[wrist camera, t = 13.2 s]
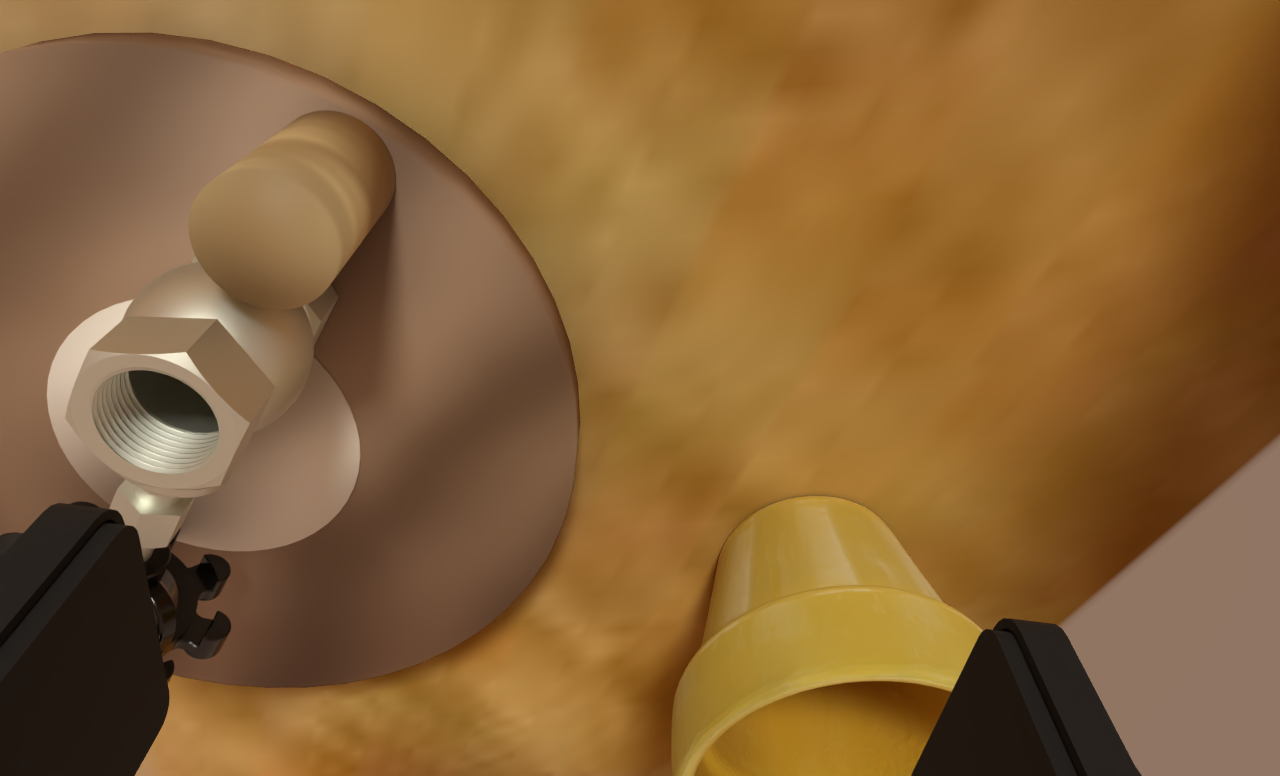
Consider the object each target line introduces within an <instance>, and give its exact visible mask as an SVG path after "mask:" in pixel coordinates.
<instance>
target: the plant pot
mask: <svg viewBox="0 0 1280 776" xmlns="http://www.w3.org/2000/svg"><path fill="white" fill-rule="evenodd" d="M982 631H983V630H982V629H981V628H980V627H979V626H977V625H976V624H975V623H974V622H973V621H972V620H970V619H969V618H968V617H966V616H965V615H963V614H962V613H961V612H959V611H957V610H956V609H954V608H952V607H950V606H948V605H947V604H945V603H943V601H942V600H941V598H940V597H939V596H938V594H937V593H936V592H935V590H934V589H933V588H932V586H931V585H930V584H929V582H928V581H927V580H926V578H925V577H924V576H923V574H922V573H921V571H920V570H919V569H918V567H917V566H916V565H915V563H914V562H913V561H912V559H911V558H910V556H909V555H908V554H907V552H906V551H905V549H904V548H903V547H902V545H901V544H900V542H899V541H898V540H897V538H896V537H895V535H894V534H893V532H892V531H891V530H890V529H889V527H888V526H887V525H886V524H885V523H884V522H883V521H882V520H881V519H880V518H879V517H878V516H877V515H875V514H874V513H873V512H872V511H870V510H868V509H867V508H865V507H864V506H862V505H859V504H857V503H854V502H851V501H848V500H845V499H841V498H836V497H829V496H804V497H796V498H791V499H786V500H782V501H779V502H776V503H773V504H771V505H768V506H766V507H764V508H762V509H760V510H759V511H757V512H755V513H754V514H752V515H751V516H749V517H748V518H747V519H745V520H744V521H743V522H742V523H741V524H740V525H739V526H738V527H737V528H736V529H735V530H734V531H733V532H732V533H731V535H730V536H729V537H728V539H727V540H726V542H725V544H724V546H723V548H722V550H721V553H720V555H719V560H718V564H717V570H716V576H715V581H714V587H713V592H712V597H711V602H710V607H709V612H708V616H707V621H706V626H705V631H704V635H703V640H702V645H701V648H700V649H699V650H698V651H697V653H696V654H695V655H694V657H693V658H692V659H691V661H690V662H689V664H688V666H687V667H686V669H685V671H684V673H683V675H682V677H681V679H680V682H679V684H678V687H677V690H676V694H675V697H674V704H673V712H672V730H671V775H672V776H911V774H912V772H913V770H914V768H915V766H916V764H917V762H918V760H919V758H920V756H921V754H922V752H923V749H924V747H925V745H926V743H927V741H928V739H929V737H930V735H931V733H932V731H933V729H934V727H935V725H936V723H937V721H938V719H939V717H940V715H941V713H942V711H943V709H944V706H945V704H946V702H947V700H948V698H949V696H950V694H951V692H952V690H953V688H954V686H955V684H956V682H957V680H958V678H959V676H960V674H961V672H962V670H963V668H964V666H965V663H966V661H967V659H968V657H969V655H970V653H971V651H972V649H973V647H974V645H975V643H976V641H977V639H978V637H979V635H980V634H981V632H982Z"/></svg>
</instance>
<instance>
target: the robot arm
mask: <svg viewBox="0 0 1280 776" xmlns="http://www.w3.org/2000/svg"><path fill="white" fill-rule="evenodd" d="M168 706H169V689H168V684H167V679H166V673H165V668H164V663H163V658H162V653H161V647H160V642H159V637H158V632H157V627H156V621H155V616H154V611H153V606H152V601H151V595H150V590H149V585H148V580H147V575H146V569H145V564H144V559H143V554H142V549H141V543H140V538H139V534H138V531H137V529H136V528H135V527H134V526H129V525H125V523H124V520H123V517H122V515H121V514H120V513H119V512H118V511H117V510H113V509H106V508H98V507H89V506H81V505H73V504H65V503H57V504H54V505H51V506H50V507H48V508H47V509H46V510H45V511H44V512H42V514H41V515H40V516H39V517H38V518H37V519H36V520H35V521H34V522H33V523H32V524H31V525H30V526H29V528H28V529H27V530H26V531H25V532H24V533H23V534H22V535H21V536H20V537H19V538H18V539H17V540H16V541H15V543H14V544H13V545H12V546H11V547H10V548H9V549H8V550H7V551H6V552H5V553H4V554H3V555H2V556H1V558H0V776H135V774H136V772H137V770H138V768H139V767H140V765H141V763H142V761H143V760H144V758H145V756H146V754H147V753H148V751H149V749H150V747H151V746H152V744H153V742H154V740H155V738H156V737H157V735H158V733H159V731H160V729H161V727H162V725H163V723H164V720H165V718H166V715H167V711H168ZM911 776H1141V774H1140V773H1139V771H1138V770H1137V768H1136V767H1135V765H1134V764H1133V762H1132V760H1131V758H1130V756H1129V754H1128V752H1127V750H1126V748H1125V746H1124V744H1123V742H1122V740H1121V739H1120V737H1119V735H1118V733H1117V731H1116V729H1115V727H1114V725H1113V723H1112V721H1111V719H1110V718H1109V716H1108V714H1107V712H1106V710H1105V708H1104V706H1103V704H1102V702H1101V700H1100V699H1099V696H1098V695H1097V693H1096V691H1095V689H1094V687H1093V685H1092V683H1091V681H1090V679H1089V677H1088V675H1087V673H1086V671H1085V669H1084V668H1083V666H1082V664H1081V662H1080V660H1079V658H1078V656H1077V654H1076V652H1075V650H1074V648H1073V647H1072V645H1071V643H1070V641H1069V639H1068V637H1067V636H1066V634H1065V633H1064V631H1063V630H1062V628H1060V627H1059V626H1057V625H1056V624H1049V623H1041V622H1032V621H1024V620H1016V619H1005V618H1004V619H1002V620H1000V621H999V622H998V623H997V624H996V626H995V627H994V629H993V630H988V629H986V630H984V631H982V632H981V634H980V635H979V637H978V639H977V641H976V643H975V645H974V647H973V649H972V651H971V653H970V655H969V657H968V659H967V661H966V663H965V666H964V668H963V670H962V672H961V674H960V676H959V678H958V680H957V682H956V684H955V686H954V688H953V690H952V692H951V694H950V696H949V698H948V700H947V702H946V704H945V706H944V709H943V711H942V713H941V715H940V717H939V719H938V721H937V723H936V725H935V727H934V729H933V731H932V733H931V735H930V737H929V739H928V741H927V743H926V745H925V747H924V749H923V752H922V754H921V756H920V758H919V760H918V762H917V764H916V766H915V768H914V770H913V772H912V774H911Z"/></svg>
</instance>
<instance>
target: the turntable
mask: <svg viewBox="0 0 1280 776" xmlns="http://www.w3.org/2000/svg"><path fill="white" fill-rule="evenodd" d="M195 256H196V258H197V260H198V261H199V263H200V265H201V267H202V268H203V269H204V271H205V272H206V273H207V275H208V276H209V277H210V278H211V279H212V280H213V281H214V282H215V283H216V284H217V285H218V286H219V287H220V288H222V289H223V290H224V291H226V292H227V293H228V294H230V295H232V296H233V297H235V298H237V299H239V300H241V301H243V302H245V303H248V304H250V305H253V306H256V307H261V308H265V309H274V310H285V309H293V308H297V307H301V306H303V305H306V304H308V303H310V302H312V301H314V300H315V299H317V298H318V297H319V296H320V295H322V294H323V293H324V292H325V291H326V289H327V288H328V287H329V286H330V284H331V285H332V287H333V289H334V290H335V292H336V294H337V295H338V299H337V301H336V303H335V305H334V307H333V309H332V311H331V313H330V315H329V318H328V320H327V322H326V324H325V326H324V328H323V330H322V332H321V334H320V336H319V338H318V339H317V341H316V343H315V345H314V356H313V363H312V368H311V372H310V375H309V378H308V380H307V382H306V384H305V386H304V388H303V390H302V392H301V393H300V395H299V397H298V398H297V400H296V401H295V402H294V403H293V404H292V406H291V407H290V408H289V409H288V410H287V411H286V412H285V413H284V414H283V415H282V416H280V417H279V418H278V419H276V420H275V421H273V422H272V423H270V424H269V425H267V426H266V427H264V428H262V429H260V430H257V431H255V432H253V434H252V437H251V439H250V441H249V443H248V445H247V447H246V448H245V450H244V452H243V454H242V456H241V459H240V461H239V463H238V465H237V467H236V469H235V471H234V473H233V475H232V477H231V479H230V480H229V481H228V482H227V484H226V485H225V486H223V487H222V488H220V489H219V490H218V491H215V492H213V493H211V494H208V495H204V496H200V497H195V498H194V500H193V502H192V505H191V507H190V509H189V511H188V513H187V515H186V518H185V520H184V522H183V524H182V526H181V530H180V533H179V535H178V537H177V539H176V541H175V543H174V546H173V548H172V550H171V553H173V554H174V555H175V556H176V557H178V558H179V559H180V560H181V561H182V562H183V563H184V564H185V566H186V567H193V566H195V565H197V564H200V562H201V560H202V558H203V556H204V554H215V555H218V556H221V557H223V558H224V559H225V560H226V561H227V562H228V563H229V565H230V567H231V573H230V576H229V578H228V580H227V582H226V584H225V585H224V587H223V589H222V591H221V593H220V595H219V596H218V597H216V598H215V599H213V600H210V601H199V600H198V605H197V610H196V612H197V614H198V615H199V616H201V617H203V618H208V619H212V620H213V618H214V616H215V614H216V612H217V611H220V612H222V613H224V614H225V615H226V616H227V617H228V618H229V620H230V622H231V631H230V633H229V635H228V637H227V639H226V641H225V642H224V644H223V646H222V648H221V650H220V651H219V653H218V654H217V655H215V656H214V657H212V658H209V659H195V658H193V657H190V656H189V655H188V654H186V653H185V651H184V650H183V649H174V650H171V651H170V652H169V653H167V654H166V655H164V656H163V657H162V658H163V662H166V661H168V660H173V661H174V666H175V668H174V672H173V675H177V676H181V677H185V678H191V679H197V680H203V681H209V682H215V683H221V684H228V685H241V686H253V687H265V688H277V687H314V686H324V685H334V684H343V683H349V682H354V681H359V680H364V679H369V678H374V677H378V676H383V675H386V674H389V673H392V672H395V671H398V670H402V669H405V668H408V667H411V666H414V665H417V664H419V663H421V662H424V661H426V660H428V659H430V658H433V657H435V656H437V655H439V654H442V653H444V652H446V651H448V650H450V649H452V648H453V647H455V646H457V645H458V644H460V643H462V642H463V641H465V640H466V639H468V638H470V637H471V636H473V635H475V634H476V633H478V632H479V631H481V630H482V629H483V628H484V627H486V626H487V625H488V624H489V623H491V622H492V621H493V620H494V619H495V618H497V617H498V616H499V615H500V614H502V613H503V612H504V611H505V610H506V609H507V608H508V607H509V606H510V605H511V604H512V603H513V602H514V601H515V600H516V598H517V597H518V596H519V595H520V594H521V593H522V592H523V591H524V590H525V589H526V588H527V587H528V585H529V584H530V583H531V581H532V580H533V578H534V577H535V575H536V574H537V572H538V571H539V569H540V568H541V566H542V565H543V563H544V562H545V560H546V559H547V557H548V556H549V554H550V552H551V549H552V547H553V545H554V543H555V541H556V538H557V536H558V534H559V532H560V530H561V528H562V525H563V523H564V519H565V516H566V512H567V508H568V505H569V501H570V497H571V494H572V490H573V483H574V473H575V464H576V455H577V445H578V435H579V426H580V414H579V394H578V381H577V376H576V371H575V366H574V361H573V356H572V351H571V346H570V342H569V339H568V336H567V333H566V330H565V328H564V325H563V322H562V319H561V316H560V314H559V311H558V308H557V305H556V302H555V300H554V298H553V296H552V294H551V292H550V290H549V288H548V286H547V284H546V282H545V280H544V279H543V277H542V275H541V273H540V271H539V269H538V267H537V265H536V263H535V261H534V259H533V257H532V256H531V255H530V253H529V252H528V250H527V249H526V247H525V246H524V244H523V243H522V242H521V240H520V239H519V237H518V236H517V234H516V233H515V231H514V230H513V229H512V227H511V226H510V224H509V223H508V221H507V220H506V219H505V217H504V216H503V215H502V213H501V212H500V211H499V210H498V209H497V208H496V207H495V206H494V205H493V203H492V202H491V201H490V200H489V199H488V198H487V197H486V196H485V194H484V193H483V192H482V191H481V190H480V189H479V188H478V187H477V186H476V184H475V183H474V182H473V181H472V180H471V179H470V178H469V177H468V176H467V175H466V174H465V173H464V172H463V171H462V170H461V169H459V168H458V167H457V166H456V165H455V164H454V163H453V162H452V161H450V160H449V159H448V158H447V157H446V156H445V155H444V154H442V153H441V152H440V151H439V150H438V149H437V148H436V147H434V146H433V145H432V144H431V143H430V142H429V141H428V140H427V139H425V138H424V137H422V136H421V135H420V134H418V133H417V132H415V131H414V130H412V129H411V128H409V127H408V126H407V125H405V124H404V123H402V122H401V121H399V120H398V119H396V118H395V117H394V116H392V115H391V114H389V113H388V112H386V111H385V110H383V109H382V108H381V107H379V106H378V105H376V104H374V103H372V102H370V101H368V100H366V99H365V98H363V97H361V96H359V95H357V94H355V93H353V92H351V91H350V90H348V89H346V88H344V87H342V86H340V85H338V84H336V83H335V82H333V81H331V80H329V79H327V78H325V77H323V76H320V75H318V74H315V73H313V72H310V71H308V70H305V69H302V68H300V67H297V66H295V65H292V64H290V63H287V62H284V61H282V60H279V59H277V58H274V57H272V56H269V55H266V54H262V53H258V52H254V51H250V50H246V49H242V48H238V47H235V46H231V45H227V44H223V43H219V42H215V41H211V40H205V39H197V38H189V37H181V36H173V35H165V34H157V33H93V34H87V35H80V36H74V37H68V38H61V39H55V40H48V41H42V42H38V43H34V44H31V45H28V46H24V47H21V48H17V49H14V50H10V51H7V52H4V53H0V535H2V534H5V533H11V532H18V533H24V532H25V531H26V530H27V529H28V528H29V526H30V525H31V524H32V523H33V522H34V521H35V520H36V519H37V518H38V517H39V516H40V515H41V514H42V512H44V511H45V510H46V509H47V508H48V507H50V506H51V505H54V504H57V503H65V504H70V503H73V502H78V501H85V502H90V503H93V504H95V505H97V506H98V507H100V508H106V509H109V508H110V505H111V503H112V500H113V498H114V495H115V493H116V491H117V489H118V487H119V486H120V485H121V484H122V483H123V481H124V480H125V479H124V478H123V477H121V476H120V475H118V474H117V473H116V472H114V471H113V470H112V469H111V468H109V467H108V466H107V465H106V464H105V463H103V462H102V461H101V460H100V459H99V458H98V457H97V456H96V455H95V454H94V453H93V452H92V451H91V450H90V449H89V448H88V447H87V446H86V445H85V443H84V442H83V441H82V440H81V439H80V438H79V436H78V435H77V434H76V433H75V431H74V430H73V429H72V427H71V426H70V424H69V423H68V422H67V420H66V419H65V416H66V411H67V406H68V402H69V399H70V396H71V393H72V389H73V387H74V384H75V381H76V379H77V376H78V374H79V371H80V369H81V366H82V364H83V362H84V359H85V357H86V355H87V353H88V351H89V349H90V348H91V347H92V346H93V345H95V344H96V343H97V342H98V341H99V340H100V339H101V338H103V337H104V336H105V335H106V334H107V333H108V332H109V331H111V330H112V329H113V328H114V327H115V326H116V325H117V324H119V323H120V322H121V321H122V319H123V317H124V315H125V312H126V310H127V308H128V307H129V305H130V304H131V302H132V301H133V300H134V299H135V297H136V296H137V295H138V294H139V292H140V291H141V290H142V289H143V288H144V287H145V286H147V285H148V284H149V283H150V282H152V281H153V280H154V279H156V278H157V277H158V276H160V275H162V274H164V273H166V272H168V271H170V270H172V269H174V268H176V267H178V266H181V265H185V264H188V263H192V261H193V258H194V257H195ZM160 583H161V584H162V585H163V586H164V588H165V589H166V590H167V588H166V586H165V585H164V584H163V582H162V581H161V582H160ZM167 592H168V593H169V591H168V590H167ZM169 595H170V593H169Z"/></svg>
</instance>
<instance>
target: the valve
mask: <svg viewBox="0 0 1280 776" xmlns="http://www.w3.org/2000/svg"><path fill="white" fill-rule="evenodd" d="M337 299H338V295H337V294H336V292H335V290H334V289H333V287H332V285H331V284H330V286H329V287H328V288H327V289H326V291H325V292H324V293H323V294H322V295H320V296H319V297H318V298H317V299H315V300H314V301H312V302H310V303H308V304H306V305H303V306H301V307H297V308H293V309H285V310H274V309H265V308H261V307H256V306H253V305H250V304H248V303H245V302H243V301H241V300H239V299H237V298H235V297H233V296H232V295H230V294H228V293H227V292H226V291H224V290H223V289H222V288H220V287H219V286H218V285H217V284H216V283H215V282H214V281H213V280H212V279H211V278H210V277H209V276H208V275H207V273H206V272H205V271H204V269H203V268H202V267H201V265H200V263H199V261H198V260H197V258H196V256H195V257H194V258H193V261H192V263H188V264H185V265H181V266H178V267H176V268H174V269H172V270H170V271H168V272H166V273H164V274H162V275H160V276H158V277H157V278H156V279H154V280H153V281H152V282H150V283H149V284H148V285H147V286H145V287H144V288H143V289H142V290H141V291H140V292H139V294H138V295H137V296H136V297H135V299H134V300H133V301H132V302H131V304H130V305H129V307H128V308H127V310H126V312H125V315H124V317H123V319H122V321H121V322H120V323H119V324H117V325H116V326H115V327H114V328H113V329H112V330H111V331H109V332H108V333H107V334H106V335H105V336H104V337H103V338H101V339H100V340H99V341H98V342H97V343H96V344H95V345H93V346H92V347H91V348H90V349H89V351H88V353H87V355H86V357H85V359H84V362H83V364H82V366H81V369H80V371H79V374H78V376H77V379H76V381H75V384H74V387H73V389H72V393H71V396H70V399H69V402H68V406H67V411H66V416H65V419H66V420H67V422H68V423H69V424H70V426H71V427H72V429H73V430H74V431H75V433H76V434H77V435H78V436H79V438H80V439H81V440H82V441H83V442H84V443H85V445H86V446H87V447H88V448H89V449H90V450H91V451H92V452H93V453H94V454H95V455H96V456H97V457H98V458H99V459H100V460H101V461H102V462H103V463H105V464H106V465H107V466H108V467H109V468H111V469H112V470H113V471H114V472H116V473H117V474H118V475H120V476H121V477H123V478H124V479H125V480H124V481H123V483H122V484H121V485H120V486H119V487H118V489H117V491H116V493H115V495H114V498H113V500H112V503H111V505H110V508H109V509H113V510H117V511H118V512H119V513H120V514H121V515H122V517H123V520H124V523H125V525H129V526H134V527H135V528H136V529H137V531H138V534H139V538H140V543H141V549H142V554H143V559H144V564H145V569H146V575H147V580H148V585H149V590H150V595H151V601H152V606H153V611H154V616H155V621H156V627H157V632H158V637H159V642H160V647H161V653H162V657H163V656H164V655H166V654H167V653H169V652H170V651H171V650H174V649H183V650H184V651H185V653H186V654H188V655H189V656H190V657H193V658H195V659H209V658H212V657H214V656H215V655H217V654H218V653H219V651H220V650H221V648H222V646H223V644H224V642H225V641H226V639H227V637H228V635H229V633H230V631H231V622H230V620H229V618H228V617H227V616H226V615H225V614H224V613H222V612H220V611H217V612H216V614H215V616H214V618H213V620H212V619H208V618H203V617H201V616H199V615H198V614H197V612H196V610H197V605H198V600H199V601H210V600H213V599H215V598H216V597H218V596H219V595H220V593H221V591H222V589H223V587H224V585H225V584H226V582H227V580H228V578H229V576H230V573H231V567H230V565H229V563H228V562H227V561H226V560H225V559H224V558H223V557H221V556H218V555H215V554H204V556H203V558H202V560H201V562H200V564H197V565H195V566H193V567H186V566H185V564H184V563H183V562H182V561H181V560H180V559H179V558H178V557H176V556H175V555H174V554H173V553H171V550H172V548H173V546H174V543H175V541H176V539H177V537H178V535H179V533H180V530H181V526H182V524H183V522H184V520H185V518H186V515H187V513H188V511H189V509H190V507H191V505H192V502H193V500H194V498H195V497H200V496H204V495H208V494H211V493H213V492H215V491H218V490H219V489H220V488H222V487H223V486H225V485H226V484H227V482H228V481H229V480H230V479H231V477H232V475H233V473H234V471H235V469H236V467H237V465H238V463H239V461H240V459H241V456H242V454H243V452H244V450H245V448H246V447H247V445H248V443H249V441H250V439H251V437H252V434H253V432H255V431H257V430H260V429H262V428H264V427H266V426H267V425H269V424H270V423H272V422H273V421H275V420H276V419H278V418H279V417H280V416H282V415H283V414H284V413H285V412H286V411H287V410H288V409H289V408H290V407H291V406H292V404H293V403H294V402H295V401H296V400H297V398H298V397H299V395H300V393H301V392H302V390H303V388H304V386H305V384H306V382H307V380H308V378H309V375H310V372H311V368H312V363H313V356H314V345H315V343H316V341H317V339H318V338H319V336H320V334H321V332H322V330H323V328H324V326H325V324H326V322H327V320H328V318H329V315H330V313H331V311H332V309H333V307H334V305H335V303H336V301H337ZM70 504H73V505H81V506H89V507H98V506H97V505H95V504H93V503H90V502H85V501H78V502H73V503H70ZM98 508H100V507H98ZM22 534H23V533H18V532H11V533H5V534H2V535H0V558H1V556H2V555H3V554H4V553H5V552H6V551H7V550H8V549H9V548H10V547H11V546H12V545H13V544H14V543H15V541H16V540H17V539H18V538H19V537H20V536H21V535H22ZM161 581H162V582H163V584H164V585H165V586H166V588H167V590H168V591H169V593H170V595H169V593H168V592H167V590H166V589H165V588H164V586H163V585H162V584H161V583H160V582H161ZM163 663H164V668H165V673H166V679H167V684H168V682H169V681H170V679H171V677H172V675H173V672H174V668H175V666H174V661H173V660H168V661H166V662H163Z"/></svg>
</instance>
